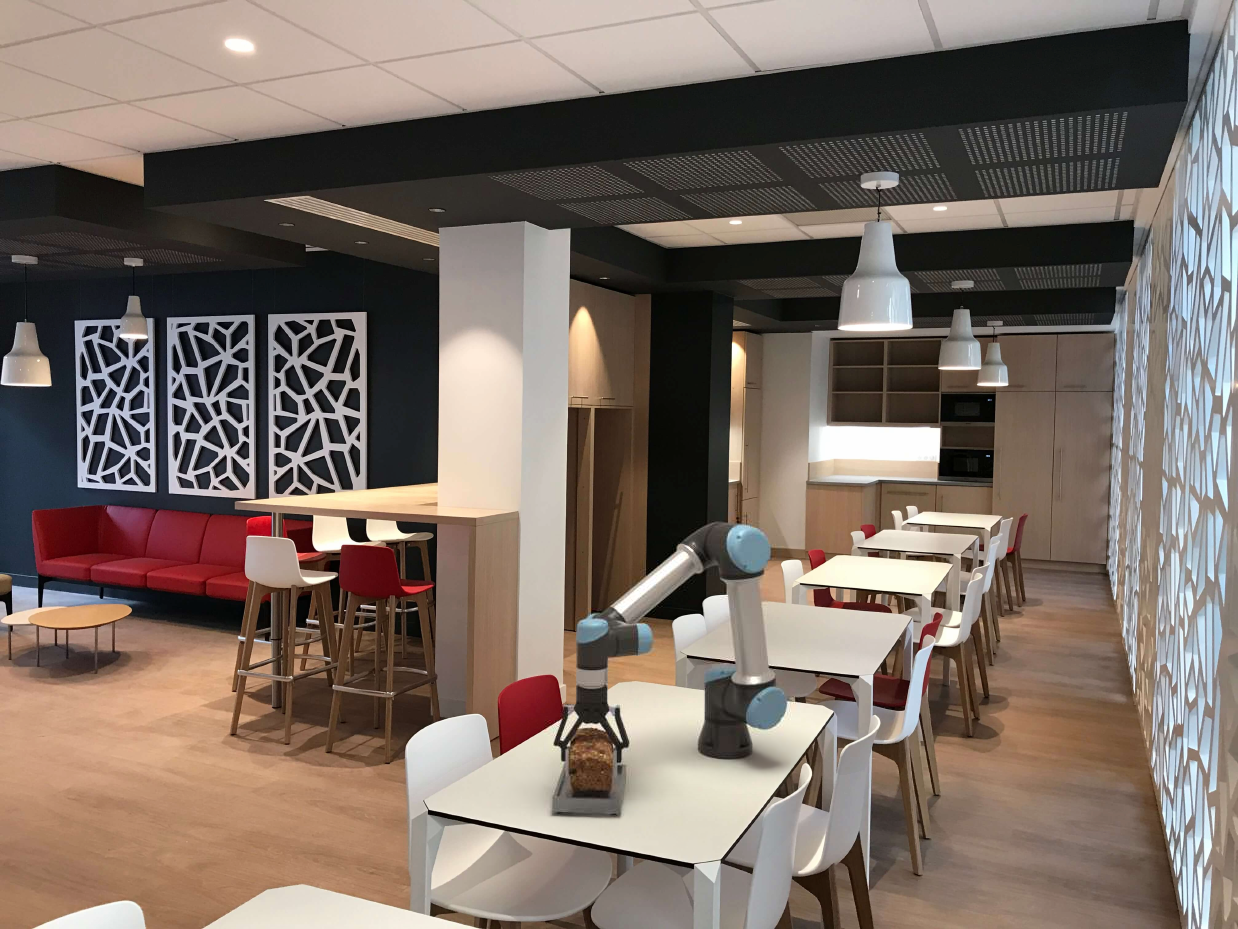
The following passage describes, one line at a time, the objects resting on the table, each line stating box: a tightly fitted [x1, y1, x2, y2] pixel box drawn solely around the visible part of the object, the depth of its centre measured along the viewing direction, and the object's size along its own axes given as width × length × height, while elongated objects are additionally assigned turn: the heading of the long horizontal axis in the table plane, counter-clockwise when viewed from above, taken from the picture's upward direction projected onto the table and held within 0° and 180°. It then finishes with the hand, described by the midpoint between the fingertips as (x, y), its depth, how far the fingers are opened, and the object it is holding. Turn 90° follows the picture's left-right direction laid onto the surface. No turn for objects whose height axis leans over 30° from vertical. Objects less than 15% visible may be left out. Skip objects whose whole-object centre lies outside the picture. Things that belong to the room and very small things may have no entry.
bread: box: [569, 726, 615, 791], centre depth 230 cm, size 19×11×10 cm, turn 0°
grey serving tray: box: [551, 762, 627, 816], centre depth 231 cm, size 16×24×4 cm, turn 176°
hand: (591, 775), depth 231 cm, fingers closed on bread, 11 cm apart
